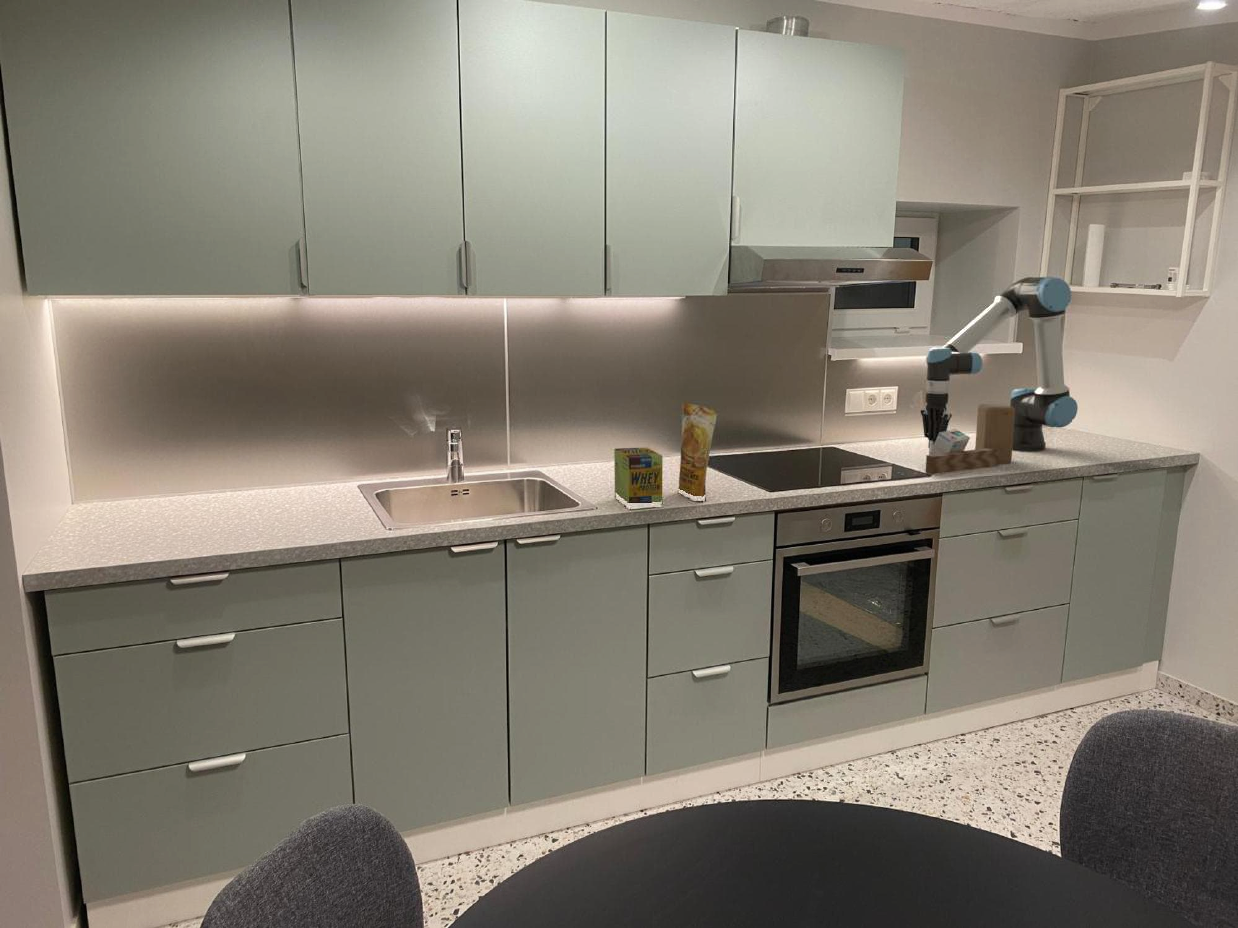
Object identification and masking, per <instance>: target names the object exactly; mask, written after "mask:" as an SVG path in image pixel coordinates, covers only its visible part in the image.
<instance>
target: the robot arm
mask: <svg viewBox="0 0 1238 928" xmlns="http://www.w3.org/2000/svg"><path fill="white" fill-rule="evenodd" d="M1071 301H1072V291H1071V288H1070V286H1069V284H1068V283H1067V282H1066V281H1065V280H1064V279H1062V278H1060V277H1055V276H1054V277H1053V276H1044V277H1043V276H1040V277H1039V276H1038V277H1036V276H1035V277H1034V276H1032V277H1031V276H1029V277H1024V278H1022V279H1021V278H1020V279H1019V280H1016V281H1015V282H1014V283H1012V284H1011V285H1009V286H1008V287H1007V288H1005V289H1003V291H1001V292H1000V293H999V294H998V295H997V296H996V297H995V298H994V302H993V303H992V304H990V305H989V307H986V309H985V310H984V311H982V313H980V314H979V315H978V316H976V317H975V318H974V319H973V320H972V321H971V322H970V323H969V324H967V325H966V326H965V327H964V328H963V329H962V330H960V331H959V332H957V334H956V335H954V336H953V337H952V338H951V339H950V340H949V341H948V342H946V343H945V344H944V345H943V346H942V347H931V348H930V349H929V350H928V353H927V355H926V359H925V363H926V366H927V368H926V369H927V370H926V371H927V372H926V389H925V390H926V391H927V392H926V393H925V404H926V405H925V409H921V410H920V415H921V418H922V427H923V434H924V435H923V436H924V438H927V439H928V440H927V441H928V445H927V447H928V455H929V454H930V452H931V449H932V447H933V445H934V443H935V441H936V439H937V437H938V434H939V432H944V431H948V426H949V423H950V420H951V418H952V417H953V414H952V413H949V412H948V411H947V410H948V409H947V404H948V403H949V392H950V391H949V390H950V378H951V376H952V375H969V376H970V375H976V374H978V373H980V372H981V369H982V367H983V358H982V356H981V354H980V353H978V352H970V351H971V350H972V349H974V348H975V347H976V346H977V345H978V344H979V343H981V341H983V340H984V339H985V338H986V337H988V336H989V335H990V334H991V333H992V332H993V331H994V330H996V329H997V328H998V327H999V326H1000V325H1002V324H1003V323H1004V322H1005V321H1006V320H1007V319H1009V318H1013V317H1015V316H1017V314H1019V313H1021V312H1024V311H1028V319H1031V321H1032V322H1033V325H1034V340H1035V354H1036V357H1035V358H1036V371H1037V382H1038V383H1037V385H1038V386H1037V387H1035V388H1034V387H1032V388H1031V387H1029V388H1015V389H1013V390H1012V391H1011V396H1010V398H1009V399H1010V401H1009V404H1010V405H1009V406H1011V407H1013V408H1015V420H1014V433H1013V447H1012V451H1016V452H1017V451H1018V452H1019V451H1020V452H1041V451H1045V450H1046V445H1047V443H1046V441H1045V438H1044V432H1043V426H1047V427H1049V428H1065V427H1066V426H1068V425H1070V424H1071V423H1072V422H1073V420H1074V419H1075V418H1076V416H1077V414H1078V402H1077V401H1076V400H1075V399H1074V398H1073V397H1072V396H1071V395H1070V387H1068V386H1067V385H1066V384H1065V375H1064V373H1065V372H1064V358H1063V357H1064V354H1063V341H1062V340H1063V339H1062V324H1061V322H1062V321H1061V319H1062V318H1063V317H1064V315H1065V314H1066V310H1065V309H1066V308H1068V306H1069V303H1071Z"/></svg>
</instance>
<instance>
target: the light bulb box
mask: <svg viewBox="0 0 1238 928" xmlns="http://www.w3.org/2000/svg"><path fill="white" fill-rule="evenodd" d="M969 440H971V437H970V436H969V435H966V434H965V433H963V432H962V431H960V430H958V429H956V428H952V429H949V430H947V431H944V432H939V434H938V437H937V439H936V441H935V443H934V445H933V447H932V449H931V452H930V454H929V453H928V455H934V454H942V453H951V452H959V451H965V450H966V448H967V445H968V443H969Z"/></svg>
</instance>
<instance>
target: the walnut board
mask: <svg viewBox="0 0 1238 928" xmlns="http://www.w3.org/2000/svg"><path fill="white" fill-rule="evenodd" d="M998 457H999V449H996V448H985V449H977V450H975V449H970V450H964V451H959V452H951V453H942V454H934V455H929V454H928V455H927V454H926V459H925V474H928V473H930V474H929V475H938V474H937V473H940V474H945V473H946V474H947V473H953V472H954V473H955V472H960V471H969V470H971V471H972V470H977V469H978V468H979V469H986V468H993V467H998V466H999V464H998Z"/></svg>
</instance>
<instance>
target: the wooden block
mask: <svg viewBox="0 0 1238 928" xmlns="http://www.w3.org/2000/svg"><path fill="white" fill-rule="evenodd" d="M976 417H977V418H976V429H975V430H976V433H975V446H974V448H975V449H974V450H977V449H985V448H996V449H999V457H998V465H999V464H1007V465H1008V464H1011V462H1012V459H1013V450H1012V447H1013V433H1014V420H1015V408H1013V407H1011V406H1010V405H1007V404H1004V403H981V404H978V406H977V416H976Z"/></svg>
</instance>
